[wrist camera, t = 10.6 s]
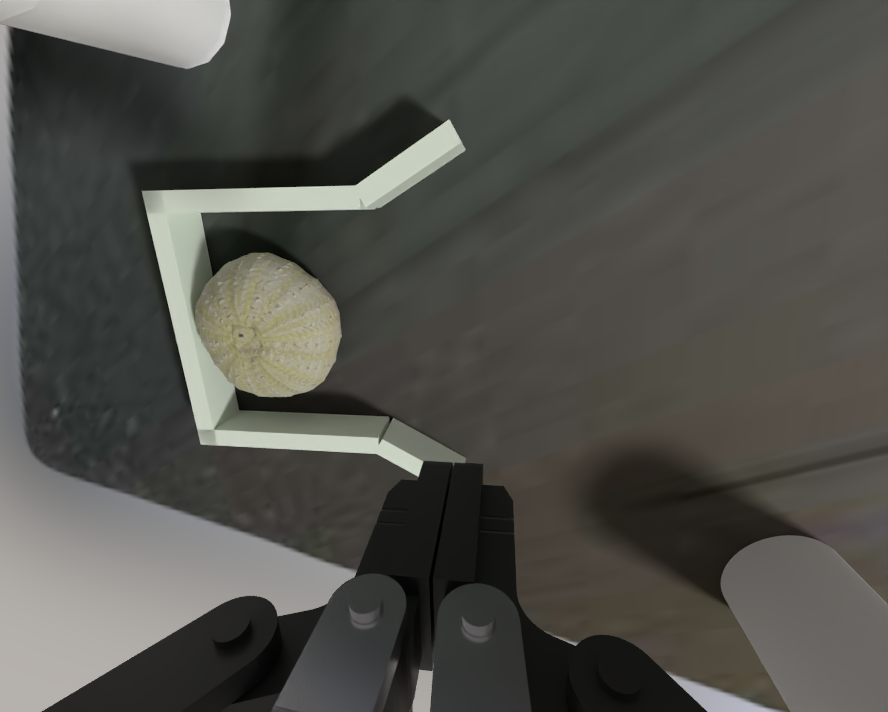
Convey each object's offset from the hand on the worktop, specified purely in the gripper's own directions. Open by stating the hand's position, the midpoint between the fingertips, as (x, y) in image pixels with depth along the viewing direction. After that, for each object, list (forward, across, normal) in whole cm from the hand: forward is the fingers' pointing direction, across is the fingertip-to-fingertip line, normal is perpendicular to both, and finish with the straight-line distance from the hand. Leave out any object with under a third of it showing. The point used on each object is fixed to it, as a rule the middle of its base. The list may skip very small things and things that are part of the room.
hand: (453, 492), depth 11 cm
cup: (+18, -22, +19) cm, 34 cm away
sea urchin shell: (+18, +14, 0) cm, 22 cm away
